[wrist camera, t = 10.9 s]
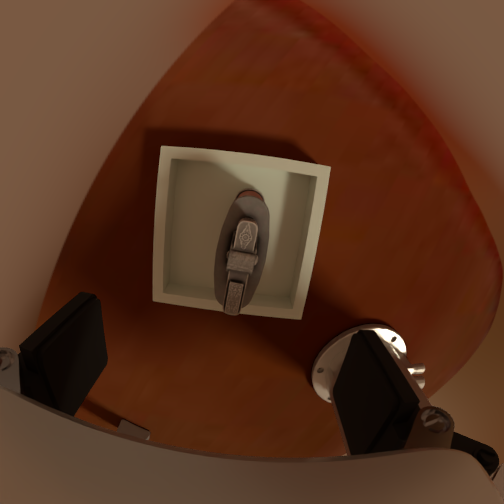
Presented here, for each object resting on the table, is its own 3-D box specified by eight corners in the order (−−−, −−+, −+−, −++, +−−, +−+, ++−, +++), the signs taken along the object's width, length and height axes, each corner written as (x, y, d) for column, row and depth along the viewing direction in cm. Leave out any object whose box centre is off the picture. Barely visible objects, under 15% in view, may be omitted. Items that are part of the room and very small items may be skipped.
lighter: (233, 184, 25) (222, 195, 16) (271, 191, 25) (283, 207, 16) (218, 268, 28) (201, 322, 18) (253, 275, 28) (253, 331, 18)
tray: (320, 166, 26) (330, 166, 22) (295, 303, 30) (301, 319, 26) (172, 148, 25) (161, 145, 22) (162, 286, 29) (152, 301, 26)
